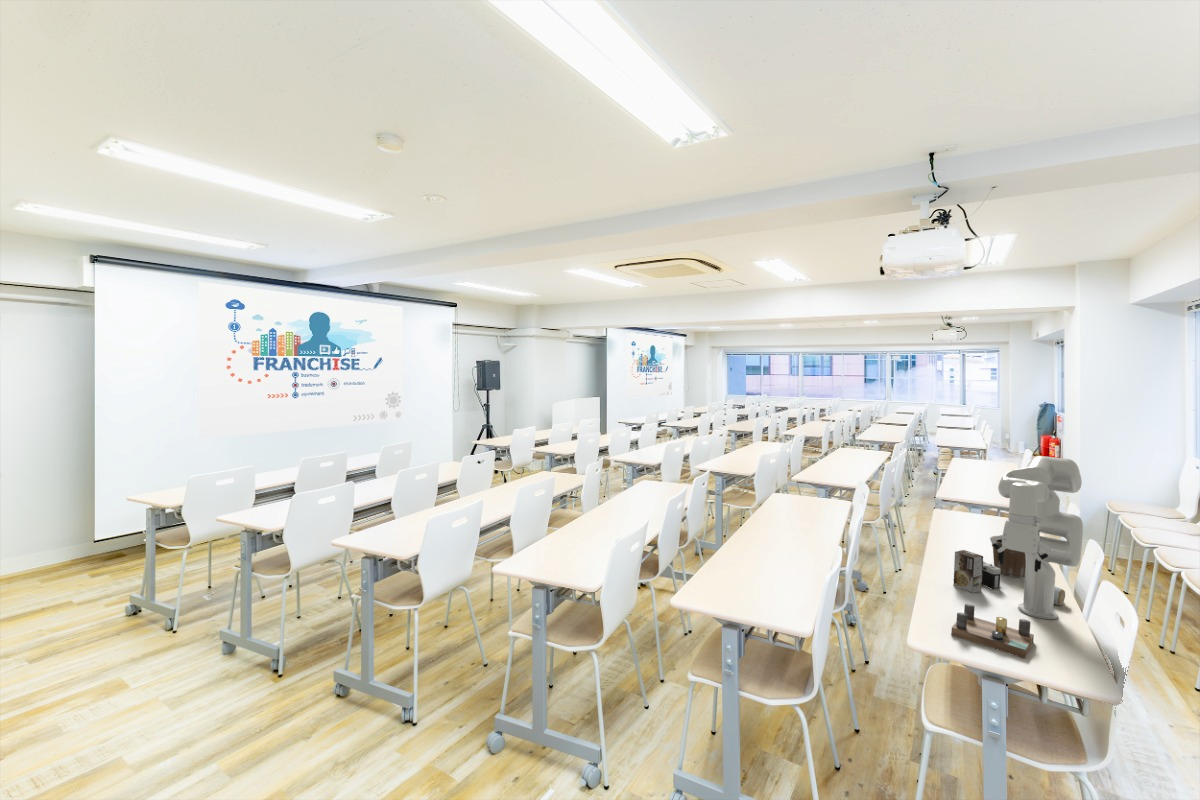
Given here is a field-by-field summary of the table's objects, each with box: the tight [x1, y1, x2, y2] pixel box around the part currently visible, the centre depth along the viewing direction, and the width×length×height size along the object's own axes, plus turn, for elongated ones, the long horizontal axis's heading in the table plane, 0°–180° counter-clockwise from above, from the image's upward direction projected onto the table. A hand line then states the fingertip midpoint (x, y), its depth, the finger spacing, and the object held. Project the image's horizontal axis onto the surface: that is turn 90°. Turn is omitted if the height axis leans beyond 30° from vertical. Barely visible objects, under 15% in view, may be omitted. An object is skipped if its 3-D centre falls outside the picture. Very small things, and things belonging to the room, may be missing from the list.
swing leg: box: [992, 616, 1008, 640], centre depth 196 cm, size 9×3×5 cm, turn 134°
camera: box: [982, 560, 1001, 590], centre depth 251 cm, size 14×9×10 cm, turn 179°
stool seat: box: [950, 603, 1035, 659], centre depth 200 cm, size 16×22×8 cm
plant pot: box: [991, 535, 1026, 578], centre depth 264 cm, size 16×16×16 cm
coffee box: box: [953, 549, 984, 594], centre depth 245 cm, size 9×6×16 cm
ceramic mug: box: [1053, 585, 1066, 606], centre depth 232 cm, size 11×8×8 cm
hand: (1018, 566), depth 189 cm, fingers open, 9 cm apart
